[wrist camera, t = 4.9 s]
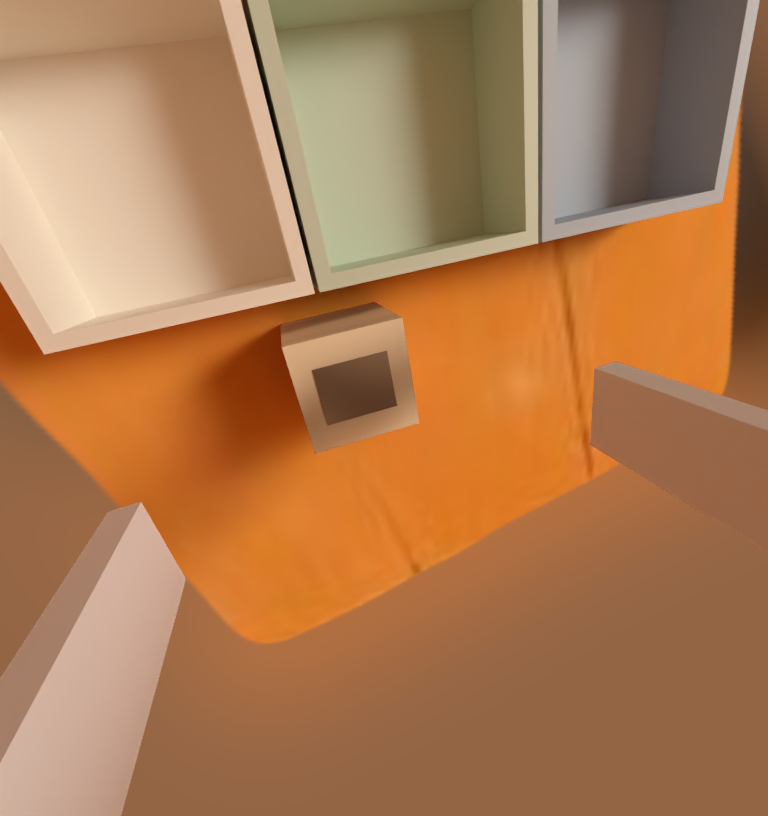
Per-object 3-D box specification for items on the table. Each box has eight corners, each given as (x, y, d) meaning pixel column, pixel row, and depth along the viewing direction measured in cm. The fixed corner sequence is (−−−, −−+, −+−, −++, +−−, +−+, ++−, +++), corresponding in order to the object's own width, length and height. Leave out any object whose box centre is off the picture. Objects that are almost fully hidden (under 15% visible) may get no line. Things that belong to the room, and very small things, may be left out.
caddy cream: (-52, 51, 13) (-186, -29, 9) (238, 21, 14) (226, -58, 11) (94, 331, 17) (44, 354, 13) (307, 284, 19) (315, 293, 15)
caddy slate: (480, -4, 16) (543, -80, 12) (671, -24, 18) (777, -97, 14) (493, 243, 20) (542, 242, 16) (645, 209, 22) (721, 201, 18)
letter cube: (280, 324, 19) (281, 347, 15) (374, 301, 20) (402, 317, 15) (307, 411, 21) (315, 455, 17) (390, 388, 22) (419, 424, 18)
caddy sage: (244, 21, 14) (233, -58, 11) (476, -4, 16) (537, -80, 12) (311, 283, 19) (319, 292, 15) (489, 244, 20) (538, 243, 16)
